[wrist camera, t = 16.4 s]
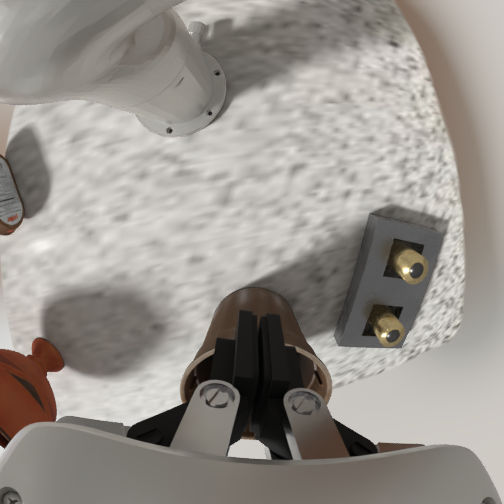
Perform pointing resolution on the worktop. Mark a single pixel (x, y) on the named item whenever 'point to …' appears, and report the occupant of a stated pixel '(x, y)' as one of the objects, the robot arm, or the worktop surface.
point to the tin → (9, 200)
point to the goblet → (26, 388)
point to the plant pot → (259, 304)
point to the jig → (384, 286)
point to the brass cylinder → (407, 263)
